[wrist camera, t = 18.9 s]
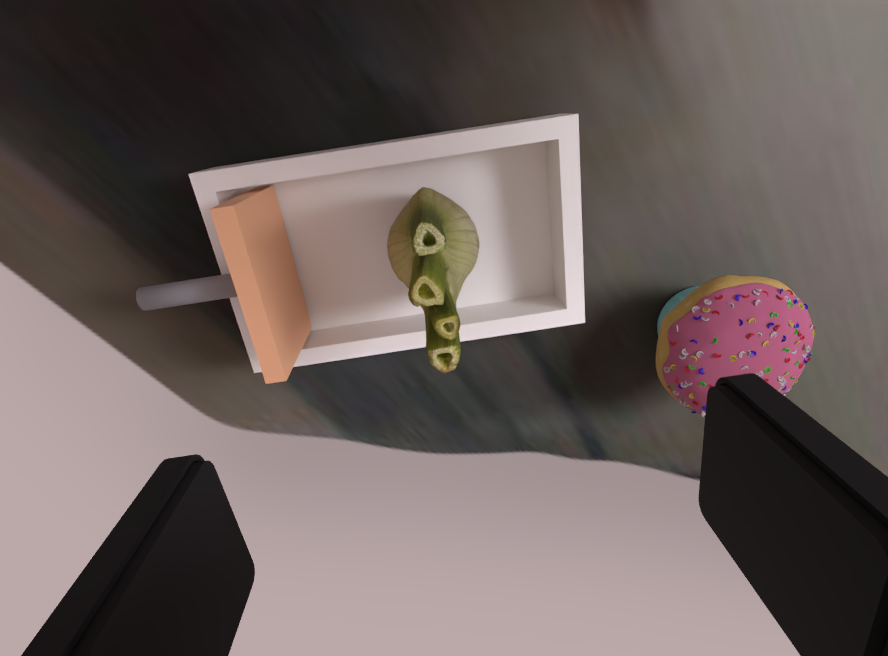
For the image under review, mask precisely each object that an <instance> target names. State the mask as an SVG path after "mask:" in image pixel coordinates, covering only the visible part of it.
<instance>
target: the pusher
mask: <svg viewBox="0 0 888 656" xmlns="http://www.w3.org/2000/svg"><path fill="white" fill-rule="evenodd" d="M209 210H210V213H211V216H212V219H213V222H214V225H215V228H216V231H217V234H218V237H219V240H220V244H221V247H222V250H223V253H224V256H225V259H226V262H227V265H228V268H229V271H230V274H224V275H218V276H211V277H205V278H198V279H192V280H185V281H179V282H172V283H166V284H159V285H152V286H146V287H140V288H138V289H137V291H136V301H137V303H138V305H139V307H140V308H141V309H142V310H144V311H147V310H154V309H160V308H167V307H173V306H180V305H186V304H193V303H199V302H206V301H212V300H219V299H226V298H232V297H238V299H239V302H240V305H241V308H242V311H243V314H244V318H245V321H246V324H247V327H248V330H249V333H250V336H251V339H252V342H253V345H254V348H255V351H256V355H257V358H258V361H259V364H260V367H261V370H262V373H263V376H264V379H265V382H266V384H269V383H275V382H282V381H287V379H288V377H289V375H290V372H291V370H292V368H293V366H294V364H295V362H296V360H297V358H298V356H299V354H300V352H301V350H302V347H303V345H304V343H305V341H306V339H307V337H308V335H309V333H310V331H311V329H312V325H311V321H310V317H309V314H308V310H307V306H306V303H305V299H304V295H303V291H302V288H301V284H300V280H299V277H298V273H297V269H296V265H295V262H294V258H293V254H292V250H291V247H290V243H289V239H288V236H287V232H286V228H285V224H284V221H283V217H282V213H281V210H280V206H279V202H278V198H277V195H276V191H275V187H274V185H270V186H264V187H257V188H254V189H252V190H250V191H247V192H245V193H243V194H241V195H239V196H237V197H235V198H232V199H230V200H228V201H226V202H224V203H222V204H219V205H217V206H215V207H213V208H211V209H209Z"/></svg>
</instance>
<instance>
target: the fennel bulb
mask: <svg viewBox="0 0 888 656" xmlns="http://www.w3.org/2000/svg"><path fill="white" fill-rule="evenodd" d="M387 252H388V257H389V260H390V264H391V267H392V269H393V271H394V273H395V274H396V276H397V278H398V279H399V280H400V281H402V282H403V283H404V284H405V285H406V286H407V288H408V289H409V292H408V297H409V300H410V302H411V303H412V304H413V305H414V306H416V307H418V306H421V308H422V309H423V311H424V314H425V326H426V353H427V356H428V359H429V362H430V364H431V365H432V366H433V367H434V368H435V369H437V370H439V371H440V372H441V373H446V372H450V371H452V370H455V368H456V366H457V364H458V363H459V359H460V353H461V346H460V336H459V330H460V318H459V315H458V313H457V308H456V301H457V298H458V296H459V293H460V291H461V288H462V286H463V283H464V281H465V279H466V278H467V276H468V275H469V274H470V272H471V271H472V270H473V268H474V266H475V264H476V261H477V257H478V252H479V237H478V234H477V230H476V227H475V225H474V223H473V221H472V220H471V218H470V216H469V215H468V213H467V212H466V211H465V210H464V209H463V208H462V207H460V206H459V205H458V204H456V203H455V202H454V201H453V200H451V199H450V198H448V197H446V196H444V195H442V194H441V193H439V192H437V191H435V190H433V189H431V188H425V187H422V188H421V189H419V190H418V191H417V192H416V193H415V194H414V195H413V196H412V198H411V199H410V201H409V202H408V203H407V204H406V206H405V207H404V208H403V209H402V211H401V212H400V214H399V215H398V216H397V218H396V220H395V221H394V223H393V224H392V226H391V228H390V231H389V235H388V242H387Z"/></svg>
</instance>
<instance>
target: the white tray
mask: <svg viewBox="0 0 888 656" xmlns="http://www.w3.org/2000/svg"><path fill="white" fill-rule="evenodd" d="M188 175H189V178H190V181H191V184H192V187H193V190H194V193H195V196H196V199H197V202H198V205H199V208H200V211H201V214H202V217H203V220H204V223H205V226H206V229H207V232H208V235H209V238H210V241H211V244H212V247H213V250H214V253H215V256H216V259H217V262H218V265H219V268H220V271H221V274H222V275H224V274H230V271H229V268H228V265H227V262H226V259H225V256H224V253H223V250H222V247H221V244H220V240H219V237H218V234H217V231H216V228H215V225H214V222H213V219H212V216H211V213H210V210H209V209H211V208H213V207H215V206H217V205H219V204H222V203H224V202H226V201H228V200H230V199H232V198H235V197H237V196H239V195H241V194H243V193H245V192H247V191H250V190H252V189H254V188H257V187H264V186H270V185H274V187H275V191H276V195H277V198H278V202H279V206H280V210H281V213H282V217H283V221H284V224H285V228H286V232H287V236H288V239H289V243H290V247H291V250H292V254H293V258H294V262H295V265H296V269H297V273H298V277H299V280H300V284H301V288H302V291H303V295H304V299H305V303H306V306H307V310H308V314H309V317H310V321H311V325H312V329H311V331H310V333H309V335H308V337H307V339H306V341H305V343H304V345H303V347H302V350H301V352H300V354H299V356H298V358H297V360H296V362H295V364H294V366H293V367H297V366H304V365H310V364H317V363H324V362H330V361H337V360H343V359H350V358H356V357H363V356H370V355H376V354H383V353H389V352H396V351H403V350H409V349H416V348H422V347H426V326H425V314H424V311H423V309H422V308H421V306H418V307H416V306H414V305H413V304H412V303H411V302H410V300H409V297H408V292H409V289H408V288H407V286H406V285H405V284H404V283H403V282H402V281H400V280H399V279H398V278H397V276H396V274H395V273H394V271H393V269H392V267H391V264H390V260H389V257H388V252H387V242H388V235H389V231H390V228H391V226H392V224H393V223H394V221H395V220H396V218H397V216H398V215H399V214H400V212H401V211H402V209H403V208H404V207H405V206H406V204H407V203H408V202H409V201H410V199H411V198H412V196H413V195H414V194H415V193H416V192H417V191H418V190H419V189H421V188H422V187H425V188H431V189H433V190H435V191H437V192H439V193H441V194H442V195H444V196H446V197H448V198H450V199H451V200H453V201H454V202H455V203H456V204H458V205H459V206H460V207H462V208H463V209H464V210H465V211H466V212H467V213H468V215H469V216H470V218H471V220H472V221H473V223H474V225H475V227H476V230H477V234H478V237H479V252H478V257H477V261H476V264H475V266H474V268H473V270H472V271H471V272H470V274H469V275H468V276H467V278H466V279H465V281H464V283H463V286H462V288H461V291H460V293H459V296H458V298H457V301H456V308H457V313H458V315H459V318H460V330H459V336H460V342H462V341H468V340H475V339H481V338H488V337H495V336H501V335H508V334H514V333H521V332H527V331H534V330H541V329H547V328H554V327H560V326H567V325H573V324H580V323H585V303H584V272H583V242H582V211H581V181H580V151H579V120H578V114H554V115H548V116H541V117H535V118H528V119H522V120H515V121H509V122H502V123H496V124H489V125H483V126H477V127H470V128H464V129H457V130H451V131H444V132H438V133H431V134H425V135H418V136H412V137H405V138H399V139H392V140H386V141H380V142H373V143H367V144H360V145H354V146H347V147H341V148H334V149H328V150H321V151H315V152H308V153H302V154H295V155H289V156H283V157H276V158H270V159H263V160H257V161H250V162H244V163H237V164H231V165H224V166H218V167H213V168H209V169H205V170H201V171H198V172H194V173H190V174H188ZM230 301H231V304H232V307H233V311H234V314H235V317H236V320H237V323H238V326H239V329H240V332H241V335H242V338H243V341H244V344H245V347H246V350H247V353H248V356H249V359H250V362H251V365H252V368H253V371H254V373H258V372H262V370H261V367H260V364H259V361H258V358H257V355H256V351H255V348H254V345H253V342H252V339H251V336H250V333H249V330H248V327H247V324H246V321H245V318H244V314H243V311H242V308H241V305H240V302H239V299H238V297H232V298H230Z"/></svg>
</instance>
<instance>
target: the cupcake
mask: <svg viewBox="0 0 888 656" xmlns="http://www.w3.org/2000/svg"><path fill="white" fill-rule="evenodd" d="M805 306H806V307H805ZM807 309H808V306H807V305H806V304H803V303H802V301H801V300H800V299H799V297H798V296H797V295H795V294H794V293H793V291H792V290H791V289H789V288H788V287H787V286H786V285H784V284H783V283H781V282H779V281H777V280H774V279H771V278H766V277H760V276H735V275H723V276H721V277H718V278H715V279H712V280H710V281H708V282H706V283H704V284H703V285H701V286H695V287H691V288H687V289H685V290H683V291H681V292H679V293H677V294H676V295H674V296H673V297H672V298H671V299H670V300H669V301H668V302H667V303H666V304H665V306H664V307H663V309H662V311H661V313H660V315H659V318H658V322H657V333H658V342H657V349H656V370H657V374H658V377H659V380H660V382H661V383H662V385H663V386H664V388H665V389H666V390H667V392H668V393H669V394H670V395H671V396H672V397H673V398H674V399H676V400H677V401H678V402H679V403H681V404H682V405H684V406H685V407H687V408H688V409H690V410H692V411H693V412H691V413H698V414H701V416H702V417H704V416H705V414H706V402H707V393H708V390H709V388H711V387H713V386H715V384H716V382H717V380H718V379H719V378H721V377H727V376H734V375H741V374H748V373H754V374H756V375H758V376H759V377H761V378H762V379H763V380H764V381H766V382H767V383H768V384H770V385H771V386H772V387H773V388H775V389H776V390H777V391H778V392H780V393H781V394H782V395H786V394H784V393H785V392H788V391H790V390H791V386H792V385H794V384H795V383H796V382H797V381H798V380H797V379H798V377H799V376H800V374H801V373H802V371H803V369H804V366H805V364H806V363H807V362H808V361H810V358H808V357H809V356H811V355H812V350H811V348H812V344H813V340H814V335H815V331H814V329H815V327H814V326H813V325H812V322H811V319H810V316H809V313H808V311H807ZM813 328H814V329H813ZM807 360H808V361H807ZM789 388H790V389H789ZM703 415H704V416H703Z"/></svg>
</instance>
